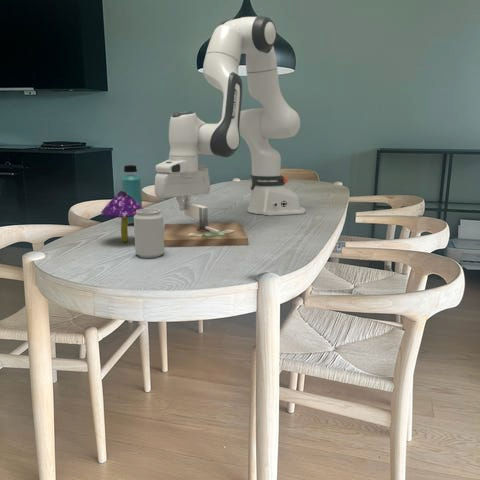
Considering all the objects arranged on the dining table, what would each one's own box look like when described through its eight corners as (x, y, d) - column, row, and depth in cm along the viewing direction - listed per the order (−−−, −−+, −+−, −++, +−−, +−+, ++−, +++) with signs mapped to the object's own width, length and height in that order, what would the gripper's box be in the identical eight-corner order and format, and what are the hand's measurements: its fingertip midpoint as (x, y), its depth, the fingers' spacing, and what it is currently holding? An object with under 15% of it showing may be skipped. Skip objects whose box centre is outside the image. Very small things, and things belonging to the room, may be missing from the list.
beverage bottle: (146, 223, 166) (144, 164, 161) (136, 227, 160) (133, 166, 155) (130, 222, 168) (127, 164, 163) (119, 225, 162) (116, 165, 157)
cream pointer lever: (222, 234, 140) (222, 211, 138) (215, 235, 139) (214, 212, 137) (190, 222, 156) (190, 201, 155) (183, 223, 155) (183, 202, 153)
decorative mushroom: (125, 249, 131) (122, 195, 128) (93, 243, 138) (89, 191, 134) (156, 240, 142) (154, 189, 138) (125, 235, 148) (122, 186, 144)
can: (137, 251, 129) (135, 207, 127) (165, 251, 130) (163, 207, 127) (133, 259, 122) (131, 212, 119) (163, 258, 123) (161, 212, 120)
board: (239, 228, 158) (239, 221, 158) (248, 244, 137) (248, 237, 136) (165, 230, 155) (164, 223, 155) (162, 247, 134) (162, 239, 134)
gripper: (201, 163, 158) (201, 205, 161) (150, 166, 143) (151, 212, 146) (214, 165, 154) (214, 207, 157) (164, 167, 139) (165, 214, 142)
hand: (183, 210), depth 151 cm, fingers closed
